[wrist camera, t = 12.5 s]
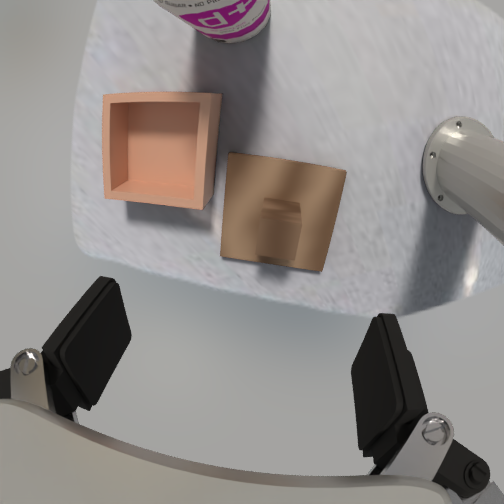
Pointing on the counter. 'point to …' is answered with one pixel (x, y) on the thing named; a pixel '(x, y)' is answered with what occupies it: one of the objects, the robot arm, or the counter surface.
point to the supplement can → (222, 17)
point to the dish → (160, 147)
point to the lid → (279, 210)
